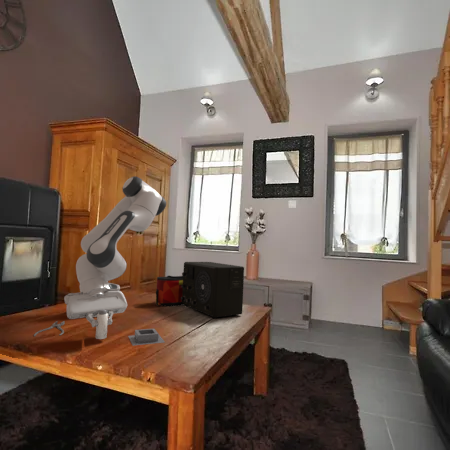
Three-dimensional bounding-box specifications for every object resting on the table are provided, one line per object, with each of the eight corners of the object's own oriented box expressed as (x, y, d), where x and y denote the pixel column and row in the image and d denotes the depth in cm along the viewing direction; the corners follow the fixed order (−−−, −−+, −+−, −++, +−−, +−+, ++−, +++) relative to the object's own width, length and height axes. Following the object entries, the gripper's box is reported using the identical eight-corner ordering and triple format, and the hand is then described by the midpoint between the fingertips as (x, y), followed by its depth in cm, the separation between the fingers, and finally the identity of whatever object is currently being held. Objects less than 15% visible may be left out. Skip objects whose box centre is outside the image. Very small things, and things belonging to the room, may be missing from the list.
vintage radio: (175, 305, 174) (178, 261, 176) (205, 302, 185) (207, 261, 187) (210, 320, 143) (212, 267, 145) (243, 316, 154) (245, 266, 156)
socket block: (128, 338, 111) (128, 328, 112) (157, 336, 116) (158, 326, 116) (132, 348, 101) (133, 337, 102) (164, 345, 106) (165, 335, 106)
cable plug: (95, 336, 105) (97, 309, 106) (106, 335, 107) (108, 308, 107) (95, 339, 102) (97, 311, 103) (106, 338, 103) (108, 311, 104)
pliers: (32, 336, 108) (38, 322, 126) (32, 339, 108) (38, 324, 126) (63, 334, 112) (65, 320, 130) (63, 336, 112) (64, 322, 130)
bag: (191, 299, 195) (192, 273, 196) (204, 302, 185) (205, 275, 186) (148, 303, 175) (150, 274, 176) (160, 308, 165) (162, 277, 166)
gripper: (65, 288, 103) (72, 324, 96) (123, 284, 117) (133, 315, 110) (61, 299, 106) (67, 335, 99) (117, 294, 120) (127, 325, 113)
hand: (102, 324), depth 104 cm, fingers closed on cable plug, 4 cm apart
